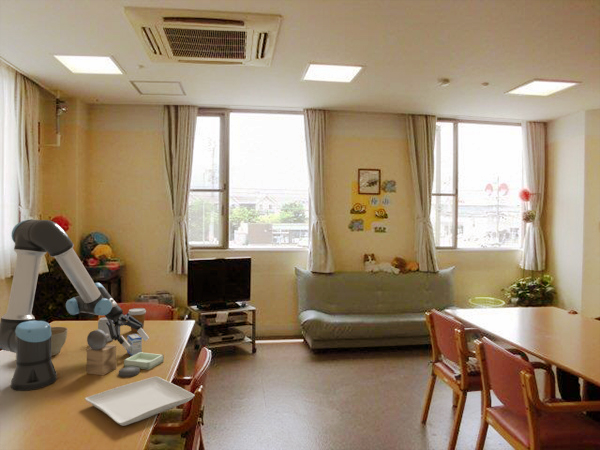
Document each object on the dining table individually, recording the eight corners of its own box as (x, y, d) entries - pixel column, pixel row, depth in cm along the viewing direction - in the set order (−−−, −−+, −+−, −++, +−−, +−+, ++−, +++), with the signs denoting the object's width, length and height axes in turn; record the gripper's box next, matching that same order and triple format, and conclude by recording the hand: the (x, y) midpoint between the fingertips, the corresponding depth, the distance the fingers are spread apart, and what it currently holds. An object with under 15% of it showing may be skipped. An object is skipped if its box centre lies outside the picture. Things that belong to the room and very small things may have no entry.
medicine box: (126, 352, 199) (126, 334, 198) (136, 350, 201) (136, 333, 201) (132, 357, 193) (132, 338, 192) (142, 355, 195) (142, 336, 195)
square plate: (196, 404, 145) (196, 393, 145) (119, 435, 125) (119, 422, 125) (156, 383, 163) (156, 373, 163) (83, 407, 143) (83, 396, 143)
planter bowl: (30, 351, 200) (29, 329, 200) (68, 346, 207) (68, 325, 207) (25, 362, 186) (25, 338, 185) (67, 356, 193) (66, 333, 193)
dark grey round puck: (130, 378, 168) (130, 374, 168) (114, 375, 170) (114, 372, 170) (143, 370, 176) (143, 367, 176) (127, 368, 178) (127, 365, 178)
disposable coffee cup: (127, 329, 239) (127, 308, 239) (145, 327, 243) (145, 307, 243) (128, 333, 230) (128, 312, 230) (146, 331, 234) (146, 310, 234)
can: (107, 343, 213) (107, 320, 213) (94, 342, 214) (94, 319, 214) (116, 339, 220) (116, 316, 220) (104, 338, 222) (104, 316, 222)
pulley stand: (102, 375, 171) (102, 331, 170) (86, 373, 173) (86, 330, 172) (116, 368, 178) (116, 326, 178) (101, 366, 181) (100, 325, 180)
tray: (148, 369, 177) (148, 362, 177) (124, 366, 180) (124, 359, 180) (163, 361, 187) (163, 354, 187) (139, 358, 191) (139, 352, 191)
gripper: (96, 310, 187) (124, 346, 184) (133, 299, 211) (158, 331, 208) (87, 321, 189) (114, 357, 185) (124, 309, 213) (149, 340, 209)
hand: (138, 343), depth 196 cm, fingers open, 13 cm apart
